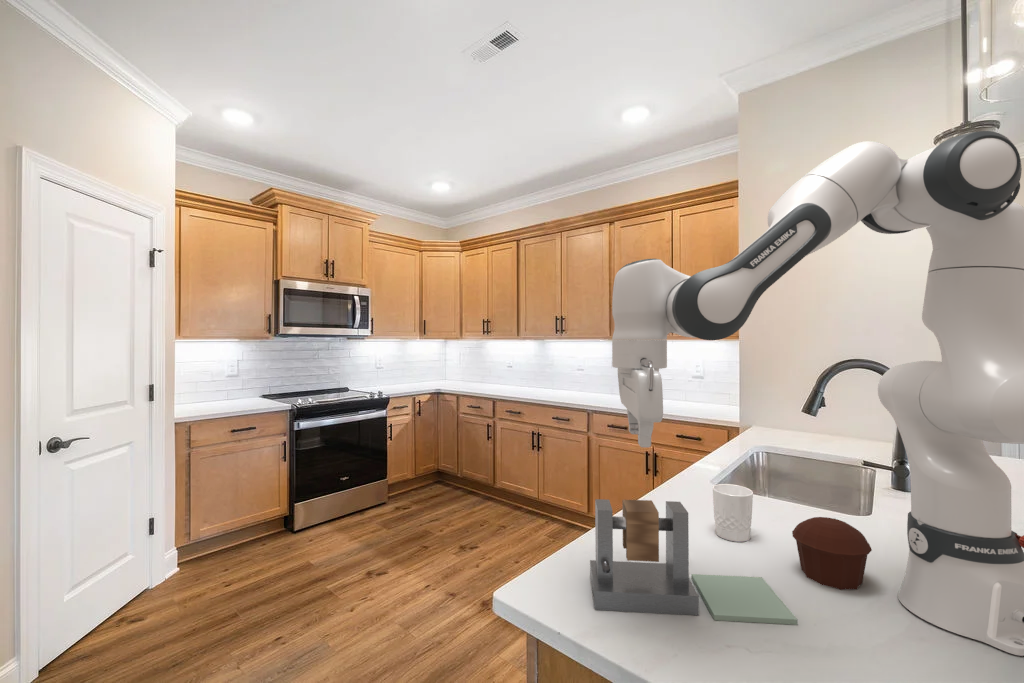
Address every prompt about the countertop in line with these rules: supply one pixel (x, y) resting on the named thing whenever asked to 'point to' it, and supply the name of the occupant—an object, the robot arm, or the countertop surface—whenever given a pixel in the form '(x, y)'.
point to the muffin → (831, 552)
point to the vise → (643, 568)
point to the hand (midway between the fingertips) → (639, 439)
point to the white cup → (732, 511)
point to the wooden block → (641, 530)
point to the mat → (742, 599)
